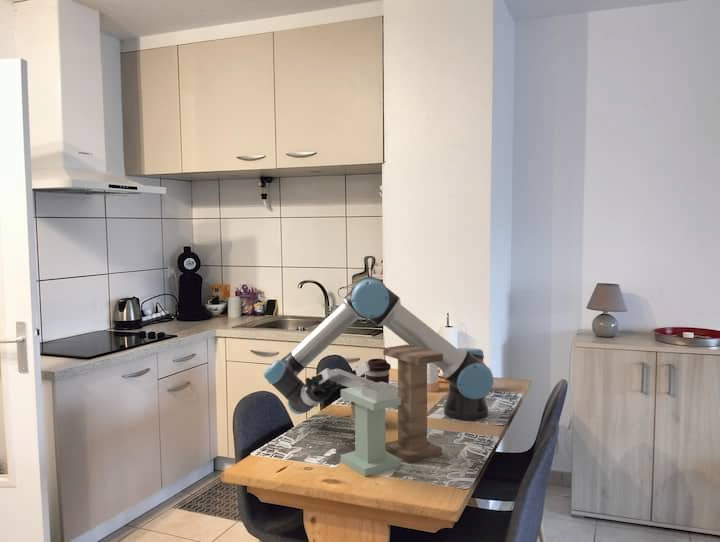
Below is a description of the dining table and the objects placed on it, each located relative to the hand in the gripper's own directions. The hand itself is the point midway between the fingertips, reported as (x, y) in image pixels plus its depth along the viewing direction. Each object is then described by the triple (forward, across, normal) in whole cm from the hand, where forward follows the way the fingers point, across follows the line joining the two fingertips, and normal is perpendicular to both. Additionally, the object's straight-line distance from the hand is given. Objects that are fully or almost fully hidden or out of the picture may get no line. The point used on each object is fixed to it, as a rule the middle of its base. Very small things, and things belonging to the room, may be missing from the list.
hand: (348, 369), depth 175 cm
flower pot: (-28, -18, -13) cm, 36 cm away
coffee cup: (-46, -38, -2) cm, 59 cm away
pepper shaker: (-44, -63, -3) cm, 77 cm away
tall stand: (-3, -15, -27) cm, 31 cm away
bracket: (+2, 0, -7) cm, 7 cm away
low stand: (-3, 0, -27) cm, 27 cm away
